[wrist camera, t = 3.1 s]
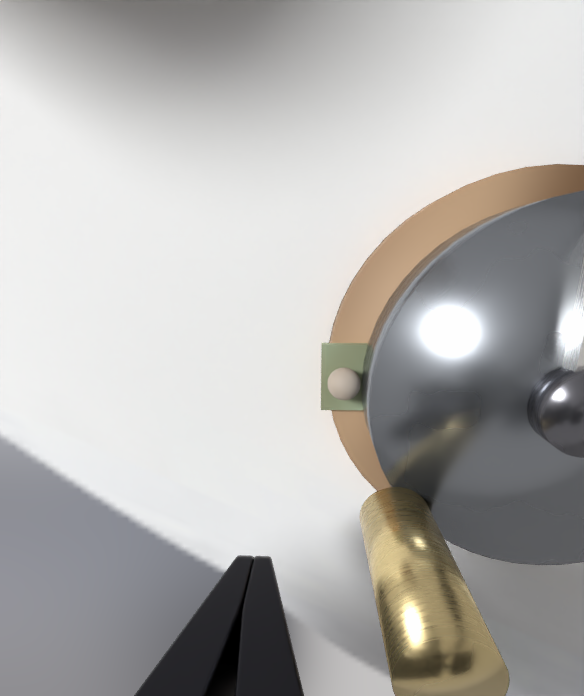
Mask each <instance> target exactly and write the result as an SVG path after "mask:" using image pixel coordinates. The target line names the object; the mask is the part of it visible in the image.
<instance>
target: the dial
mask: <svg viewBox="0 0 584 696" xmlns="http://www.w3.org/2000/svg"><path fill="white" fill-rule="evenodd" d="M361 385H362V405H363V411H364V417H365V422H366V425H367V428H368V431H369V434H370V437H371V440H372V443H373V446H374V449H375V451H376V454H377V457H378V460H379V463H380V466H381V468H382V470H383V472H384V474H385V476H386V478H387V480H388V482H389V484H390V486H391V487H390V488H385V489H382V490H379V491H377V492H375V493H374V494H372V495H371V496H370V497H368V498H367V500H366V501H365V502H364V504H363V505H362V508H361V511H360V523H361V528H362V534H363V539H364V544H365V549H366V554H367V559H368V564H369V569H370V575H371V580H372V585H373V590H374V595H375V600H376V605H377V610H378V616H379V621H380V626H381V631H382V636H383V641H384V646H385V652H386V657H387V662H388V667H389V672H390V677H391V682H392V687H393V691H394V694H395V696H505V694H506V692H507V690H508V687H509V673H508V669H507V667H506V665H505V663H504V661H503V659H502V657H501V655H500V653H499V651H498V649H497V647H496V645H495V643H494V641H493V638H492V636H491V634H490V632H489V630H488V628H487V626H486V624H485V622H484V620H483V618H482V616H481V614H480V612H479V610H478V608H477V606H476V604H475V602H474V599H473V597H472V595H471V593H470V591H469V589H468V587H467V585H466V583H465V581H464V579H463V577H462V575H461V573H460V571H459V569H458V567H457V565H456V563H455V560H454V558H453V556H452V554H451V552H450V550H449V548H448V546H447V544H446V542H445V540H444V539H446V540H447V541H449V542H450V543H452V544H455V545H457V546H459V547H461V548H464V549H466V550H468V551H470V552H473V553H476V554H479V555H483V556H486V557H489V558H492V559H497V560H502V561H507V562H512V563H521V564H533V565H562V564H571V563H579V562H584V190H583V191H578V192H574V193H569V194H565V195H560V196H556V197H552V198H548V199H545V200H541V201H537V202H534V203H530V204H526V205H523V206H519V207H515V208H512V209H509V210H506V211H503V212H501V213H498V214H495V215H492V216H489V217H487V218H485V219H483V220H481V221H479V222H477V223H475V224H473V225H471V226H469V227H467V228H465V229H463V230H461V231H460V232H458V233H456V234H455V235H453V236H452V237H450V238H449V239H447V240H446V241H444V242H443V243H441V244H440V245H439V246H438V247H436V248H435V249H434V250H433V251H432V252H430V253H429V254H428V255H427V256H426V257H424V258H423V259H422V260H421V261H420V262H419V263H418V264H417V265H416V266H415V267H414V268H413V269H412V270H411V272H410V273H409V274H408V275H407V276H406V277H405V278H404V279H403V280H402V282H401V283H400V284H399V286H398V287H397V288H396V290H395V291H394V293H393V294H392V295H391V297H390V298H389V300H388V301H387V303H386V305H385V307H384V309H383V310H382V312H381V314H380V316H379V318H378V319H377V322H376V324H375V327H374V329H373V332H372V334H371V337H370V339H369V343H368V346H367V350H366V354H365V358H364V363H363V372H362V381H361Z"/></svg>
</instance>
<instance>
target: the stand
mask: <svg viewBox="0 0 584 696" xmlns="http://www.w3.org/2000/svg"><path fill="white" fill-rule="evenodd" d="M583 190H584V165H565V164H554V165H544V166H533V167H525V168H521V169H516V170H512V171H508V172H503V173H499V174H495V175H493V176H490V177H487V178H485V179H482V180H479V181H476V182H474V183H471V184H468V185H466V186H464V187H462V188H460V189H458V190H456V191H454V192H452V193H450V194H448V195H446V196H444V197H442V198H440V199H439V200H437V201H435V202H433V203H431V204H429V205H427V206H426V207H424V208H423V209H421V210H420V211H419V212H417V213H416V214H414V215H413V216H411V217H410V218H408V219H407V220H405V221H404V222H403V223H402V224H401V225H400V226H399V227H398V228H396V229H395V230H394V231H393V232H392V233H391V234H390V235H388V236H387V237H386V238H385V239H384V240H383V241H382V242H381V244H380V245H379V246H378V247H377V248H376V249H375V250H374V251H373V253H372V254H371V255H370V256H369V257H368V258H367V260H366V261H365V263H364V264H363V265H362V267H361V268H360V270H359V271H358V273H357V274H356V276H355V277H354V279H353V280H352V282H351V284H350V286H349V288H348V290H347V292H346V294H345V296H344V298H343V300H342V302H341V304H340V307H339V310H338V312H337V315H336V318H335V321H334V323H333V328H332V332H331V337H330V342H329V343H322V356H321V410H332V415H333V420H334V423H335V425H336V428H337V431H338V434H339V437H340V440H341V442H342V444H343V446H344V447H345V449H346V451H347V453H348V455H349V457H350V459H351V460H352V462H353V463H354V464H355V466H356V467H357V469H358V470H359V471H360V473H361V474H362V476H363V477H364V478H365V479H366V480H367V481H368V482H369V483H370V484H371V485H372V486H373V487H374V488H375V489H376V490H377V491H379V490H382V489H385V488H390V487H391V486H390V484H389V482H388V480H387V478H386V476H385V474H384V472H383V470H382V468H381V466H380V463H379V460H378V457H377V454H376V451H375V449H374V446H373V443H372V440H371V437H370V434H369V431H368V428H367V425H366V422H365V417H364V411H363V405H362V385H361V381H362V372H363V363H364V358H365V354H366V350H367V346H368V343H369V339H370V337H371V334H372V332H373V329H374V327H375V324H376V322H377V319H378V318H379V316H380V314H381V312H382V310H383V309H384V307H385V305H386V303H387V301H388V300H389V298H390V297H391V295H392V294H393V293H394V291H395V290H396V288H397V287H398V286H399V284H400V283H401V282H402V280H403V279H404V278H405V277H406V276H407V275H408V274H409V273H410V272H411V270H412V269H413V268H414V267H415V266H416V265H417V264H418V263H419V262H420V261H421V260H422V259H423V258H424V257H426V256H427V255H428V254H429V253H430V252H432V251H433V250H434V249H435V248H436V247H438V246H439V245H440V244H441V243H443V242H444V241H446V240H447V239H449V238H450V237H452V236H453V235H455V234H456V233H458V232H460V231H461V230H463V229H465V228H467V227H469V226H471V225H473V224H475V223H477V222H479V221H481V220H483V219H485V218H487V217H489V216H492V215H495V214H498V213H501V212H503V211H506V210H509V209H512V208H515V207H519V206H523V205H526V204H530V203H534V202H537V201H541V200H545V199H548V198H552V197H556V196H560V195H565V194H569V193H574V192H578V191H583Z"/></svg>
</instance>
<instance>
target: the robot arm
mask: <svg viewBox="0 0 584 696" xmlns="http://www.w3.org/2000/svg"><path fill="white" fill-rule="evenodd" d="M134 696H304V693H303V689H302V685H301V681H300V677H299V672H298V668H297V664H296V660H295V655H294V651H293V647H292V643H291V639H290V634H289V630H288V626H287V622H286V618H285V614H284V609H283V605H282V601H281V597H280V593H279V588H278V584H277V580H276V576H275V572H274V567H273V563H272V559H271V557H269V556H256V557H255V558H254V557H253V556H244V555H240V556H237V557H236V558H235V560H234V561H233V562H232V564H231V565H230V566H229V568H228V569H227V571H226V572H225V573H224V575H223V576H222V577H221V579H220V580H219V581H218V583H217V584H216V585H215V587H214V588H213V590H212V591H211V592H210V594H209V595H208V596H207V598H206V599H205V600H204V602H203V603H202V604H201V606H200V607H199V609H198V610H197V611H196V613H195V614H194V615H193V617H192V618H191V619H190V621H189V622H188V623H187V625H186V626H185V627H184V629H183V630H182V632H181V633H180V634H179V636H178V637H177V638H176V640H175V641H174V642H173V644H172V645H171V646H170V648H169V649H168V651H167V652H166V653H165V655H164V656H163V657H162V659H161V660H160V661H159V663H158V664H157V665H156V667H155V668H154V670H153V671H152V672H151V674H150V675H149V677H148V678H147V679H146V680H145V682H144V683H143V684H142V686H141V687H140V689H139V690H138V691H137V693H136V694H135V695H134Z"/></svg>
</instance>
